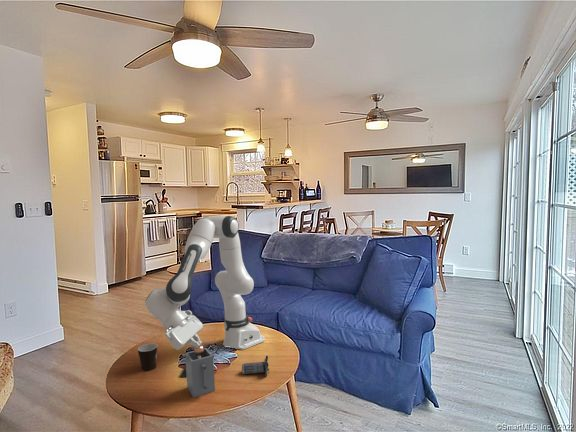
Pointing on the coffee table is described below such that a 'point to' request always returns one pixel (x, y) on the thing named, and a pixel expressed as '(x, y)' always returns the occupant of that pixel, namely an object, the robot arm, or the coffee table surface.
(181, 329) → the robot arm
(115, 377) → the coffee table surface
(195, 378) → the box
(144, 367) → the coffee mug
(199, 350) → the ball-topped press plunger
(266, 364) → the beverage can
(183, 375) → the phone
